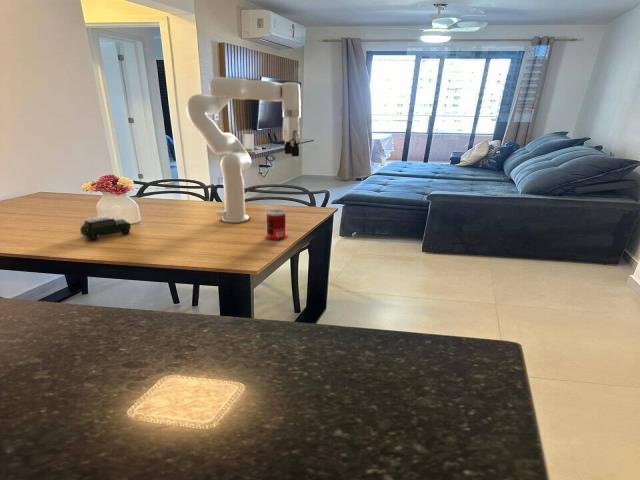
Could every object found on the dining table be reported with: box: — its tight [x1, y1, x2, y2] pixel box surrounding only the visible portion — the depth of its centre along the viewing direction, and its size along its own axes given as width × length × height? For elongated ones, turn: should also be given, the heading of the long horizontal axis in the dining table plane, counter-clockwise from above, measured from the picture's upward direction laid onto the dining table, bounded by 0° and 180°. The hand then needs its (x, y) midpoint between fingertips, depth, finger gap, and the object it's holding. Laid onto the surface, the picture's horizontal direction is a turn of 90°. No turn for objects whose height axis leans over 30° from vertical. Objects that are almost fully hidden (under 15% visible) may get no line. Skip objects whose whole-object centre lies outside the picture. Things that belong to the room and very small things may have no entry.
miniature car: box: [79, 214, 132, 242], centre depth 156 cm, size 9×18×8 cm, turn 134°
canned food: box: [266, 209, 287, 241], centre depth 159 cm, size 8×8×11 cm
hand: (291, 154), depth 167 cm, fingers open, 9 cm apart
